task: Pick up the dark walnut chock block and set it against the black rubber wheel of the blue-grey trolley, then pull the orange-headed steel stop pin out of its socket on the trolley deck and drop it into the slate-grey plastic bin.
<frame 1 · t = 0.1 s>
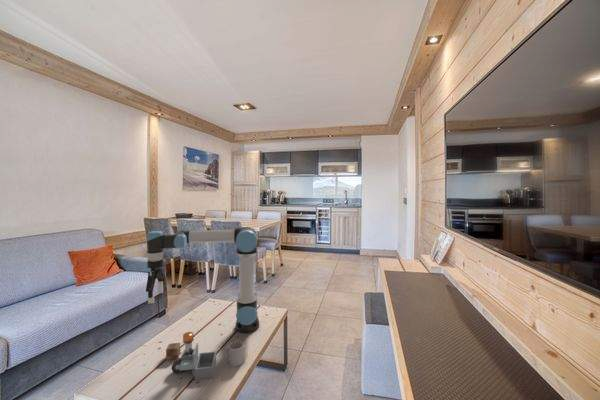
hand: (155, 297, 143), 28 cm above the table, fingers open, 13 cm apart
pin: (188, 356, 127), point 6 cm above the table, touching trolley
chock: (173, 357, 135), on the table
bin: (206, 369, 126), on the table
cup: (234, 361, 132), on the table
trolley: (186, 370, 125), on the table
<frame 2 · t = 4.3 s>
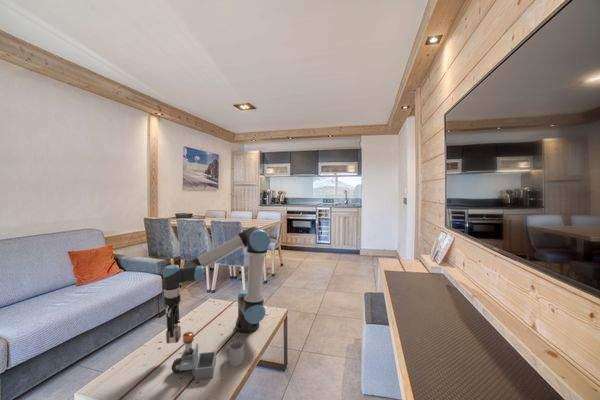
hand: (174, 339, 135), 9 cm above the table, fingers closed on chock, 5 cm apart
chock: (173, 340, 135), point 9 cm above the table, touching gripper
everything else where it was.
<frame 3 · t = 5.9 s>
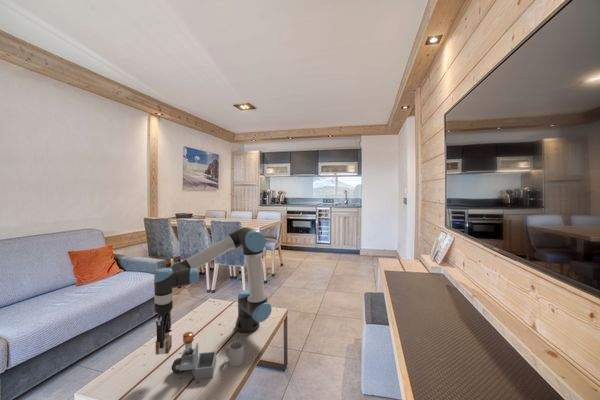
hand: (164, 349, 123), 11 cm above the table, fingers closed on chock, 5 cm apart
chock: (163, 350, 123), point 11 cm above the table, touching gripper
everything else where it was.
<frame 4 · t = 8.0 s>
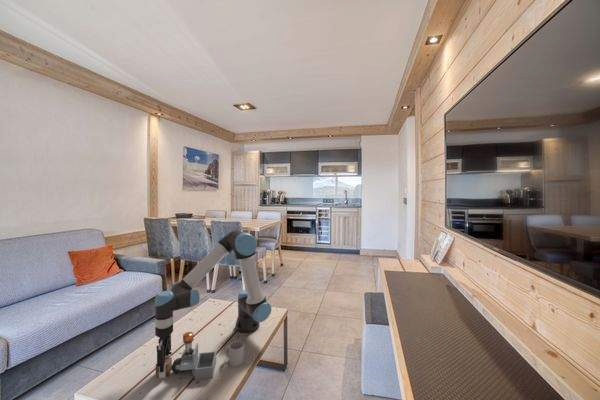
hand: (164, 372, 123), 0 cm above the table, fingers open, 5 cm apart
chock: (164, 373, 123), on the table, touching gripper
everything else where it was.
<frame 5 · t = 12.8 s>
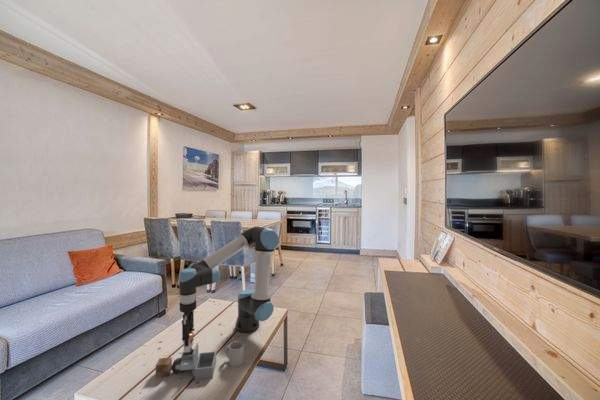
hand: (188, 348, 126), 10 cm above the table, fingers closed on pin, 5 cm apart
pin: (188, 356, 127), point 6 cm above the table, touching gripper, trolley
chock: (164, 373, 123), on the table
everything else where it was.
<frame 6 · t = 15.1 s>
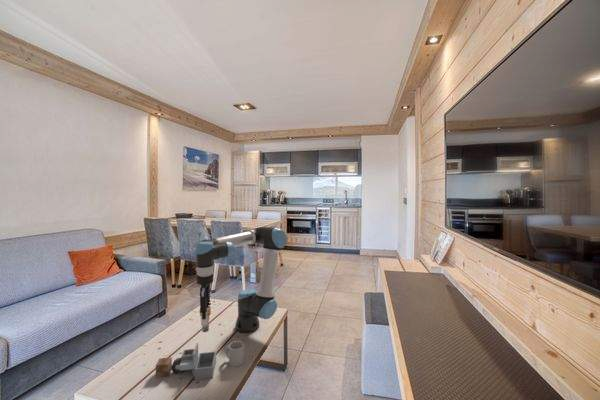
hand: (205, 321, 125), 24 cm above the table, fingers closed on pin, 5 cm apart
pin: (205, 330, 125), point 20 cm above the table, touching gripper
everything else where it was.
when the fingers open (7 cm above the table, at t = 17.8 s): pin drops 3 cm, resting on bin.
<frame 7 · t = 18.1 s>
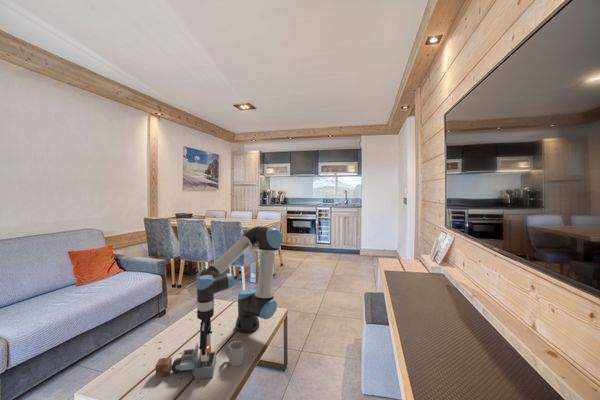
hand: (205, 353, 126), 8 cm above the table, fingers open, 9 cm apart
pin: (206, 368, 126), resting on bin
everything else where it was.
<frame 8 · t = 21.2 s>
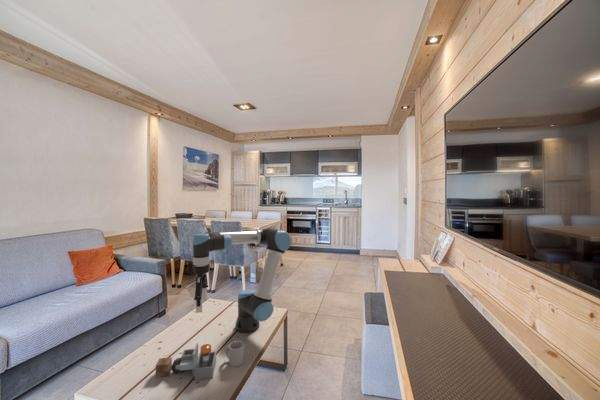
hand: (201, 306, 131), 29 cm above the table, fingers open, 13 cm apart
nothing on the table moved.
at the end: chock 0.2 cm from the target spot, on the table; pin inside the target area on the bin (0.0 cm from its centre), point 0.4 cm above the bin's base; the gripper is holding nothing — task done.
